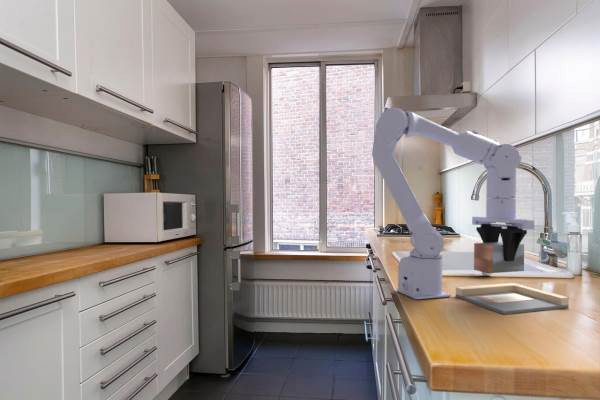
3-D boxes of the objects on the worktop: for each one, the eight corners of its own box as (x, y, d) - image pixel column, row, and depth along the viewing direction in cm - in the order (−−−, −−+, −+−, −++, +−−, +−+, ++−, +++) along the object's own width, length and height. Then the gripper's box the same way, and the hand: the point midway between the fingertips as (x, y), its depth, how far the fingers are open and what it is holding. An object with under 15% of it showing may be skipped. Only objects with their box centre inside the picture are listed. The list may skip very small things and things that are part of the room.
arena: (504, 314, 66) (504, 303, 66) (455, 296, 79) (455, 287, 79) (568, 307, 71) (568, 297, 71) (513, 291, 84) (513, 282, 84)
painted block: (523, 271, 77) (524, 244, 77) (488, 273, 74) (488, 245, 74) (508, 267, 81) (508, 242, 81) (473, 269, 78) (474, 243, 78)
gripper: (545, 198, 72) (544, 264, 72) (488, 198, 85) (487, 253, 85) (519, 198, 69) (518, 265, 69) (465, 198, 83) (464, 254, 83)
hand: (500, 259), depth 77 cm, fingers closed on painted block, 4 cm apart
